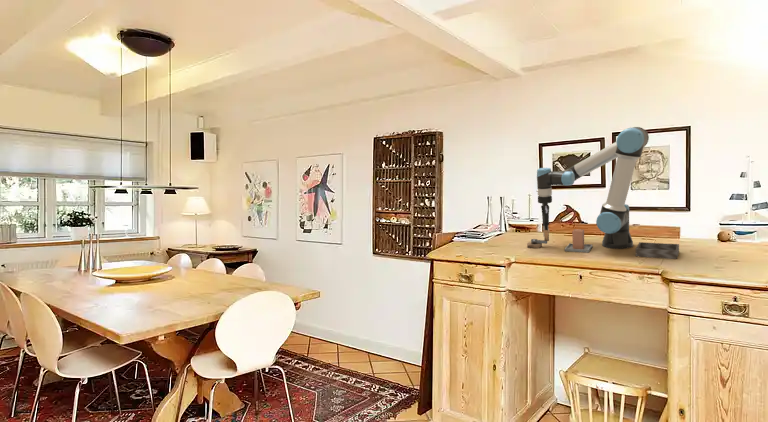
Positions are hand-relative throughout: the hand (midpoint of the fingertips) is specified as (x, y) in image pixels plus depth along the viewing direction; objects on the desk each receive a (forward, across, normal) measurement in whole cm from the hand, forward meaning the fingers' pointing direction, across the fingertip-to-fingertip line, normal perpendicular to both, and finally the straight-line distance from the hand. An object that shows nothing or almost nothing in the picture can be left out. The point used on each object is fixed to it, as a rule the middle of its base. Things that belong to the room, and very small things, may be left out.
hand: (546, 236), depth 273 cm
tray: (+5, +10, +16) cm, 19 cm away
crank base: (+6, +1, -7) cm, 9 cm away
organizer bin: (+5, +25, +50) cm, 56 cm away
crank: (+3, +2, -3) cm, 5 cm away
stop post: (+5, +10, +16) cm, 19 cm away
